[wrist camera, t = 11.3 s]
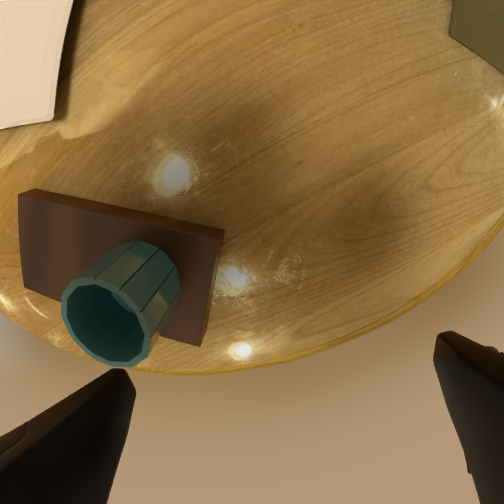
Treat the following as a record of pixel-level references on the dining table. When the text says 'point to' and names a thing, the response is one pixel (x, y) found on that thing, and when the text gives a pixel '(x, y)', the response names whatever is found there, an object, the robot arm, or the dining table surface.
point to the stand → (480, 28)
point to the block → (107, 238)
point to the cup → (122, 303)
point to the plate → (31, 58)
